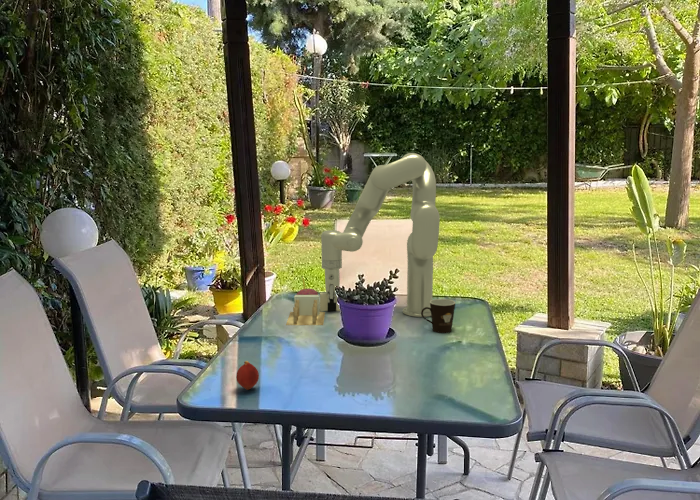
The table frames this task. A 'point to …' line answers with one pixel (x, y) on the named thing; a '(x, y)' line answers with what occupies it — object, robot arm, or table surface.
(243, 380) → the onion
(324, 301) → the cream rectangular slab
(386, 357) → the table surface
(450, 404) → the table surface
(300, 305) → the plate
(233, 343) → the table surface
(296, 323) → the dish rack
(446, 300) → the coffee mug
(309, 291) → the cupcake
